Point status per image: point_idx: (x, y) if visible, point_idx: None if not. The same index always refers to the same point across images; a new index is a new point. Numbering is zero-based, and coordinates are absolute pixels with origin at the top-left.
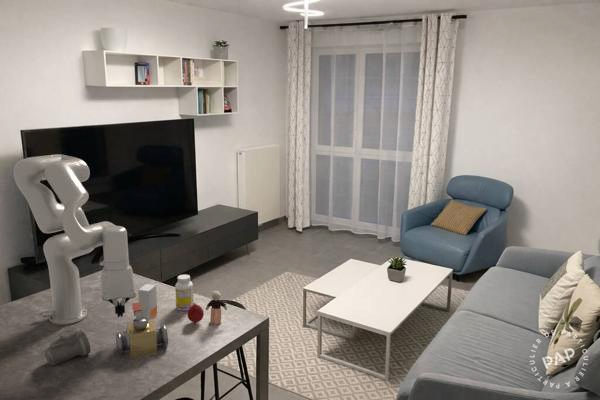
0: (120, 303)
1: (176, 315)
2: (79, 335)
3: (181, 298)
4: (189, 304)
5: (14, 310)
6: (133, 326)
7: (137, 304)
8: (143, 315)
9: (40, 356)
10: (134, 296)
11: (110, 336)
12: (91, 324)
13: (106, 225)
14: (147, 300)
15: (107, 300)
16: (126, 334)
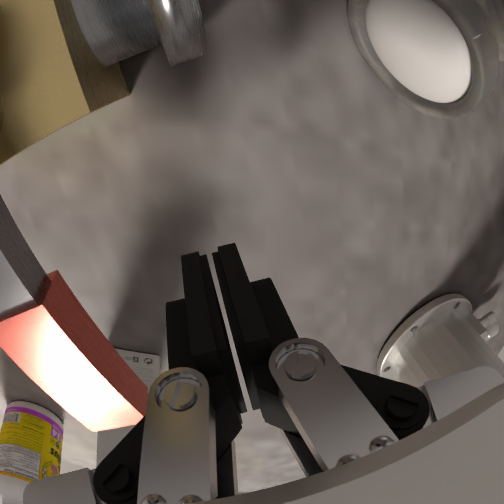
0: (227, 397)
1: (27, 379)
2: (473, 5)
3: (19, 445)
4: (4, 420)
5: (499, 337)
6: (7, 58)
7: (89, 410)
8: (136, 372)
9: (498, 82)
10: (38, 497)
11: (268, 208)
12: (364, 309)
13: None
14: (106, 447)
15: (434, 393)
16: (94, 17)
